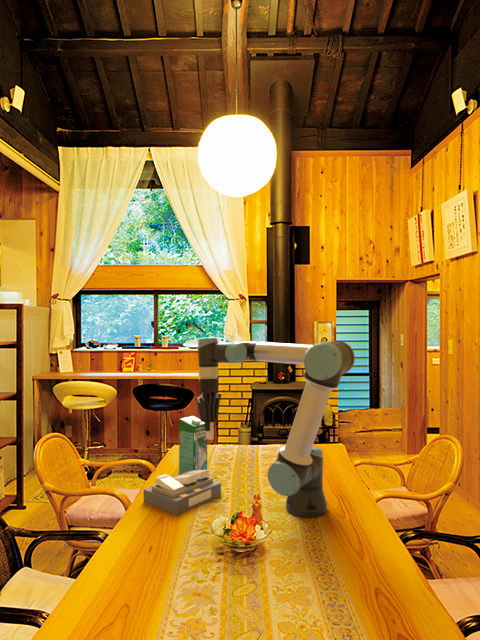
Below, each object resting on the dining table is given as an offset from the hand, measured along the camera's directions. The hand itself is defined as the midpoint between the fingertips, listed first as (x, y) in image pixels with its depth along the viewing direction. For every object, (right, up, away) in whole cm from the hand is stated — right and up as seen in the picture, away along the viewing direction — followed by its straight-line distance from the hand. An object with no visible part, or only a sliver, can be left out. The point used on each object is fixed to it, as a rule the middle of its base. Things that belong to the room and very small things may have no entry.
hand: (209, 439), depth 179 cm
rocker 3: (-6, -17, +7) cm, 19 cm away
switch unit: (-10, -24, +1) cm, 26 cm away
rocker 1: (-15, -17, -4) cm, 23 cm away
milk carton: (-10, -24, +31) cm, 41 cm away
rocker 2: (-10, -17, +1) cm, 20 cm away
